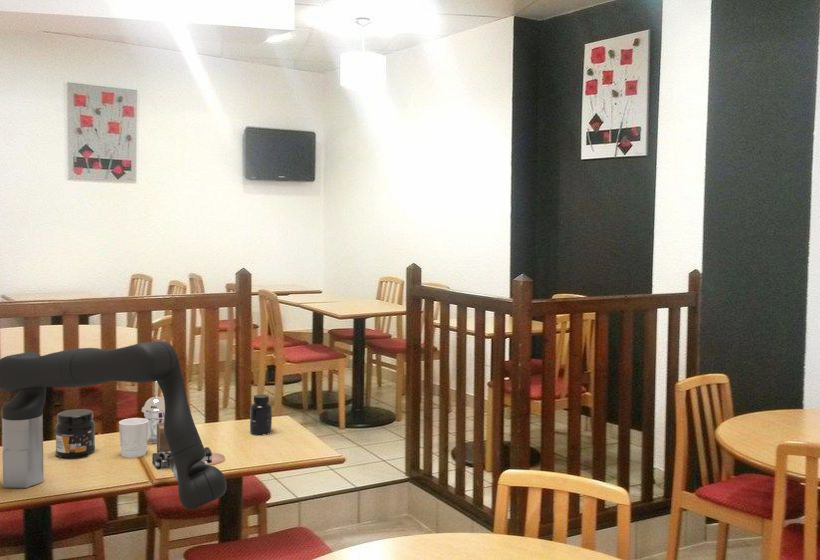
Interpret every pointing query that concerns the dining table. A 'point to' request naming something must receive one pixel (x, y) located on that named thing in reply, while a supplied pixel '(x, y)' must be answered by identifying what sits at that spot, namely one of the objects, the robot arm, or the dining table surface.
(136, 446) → the white cup
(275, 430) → the dining table surface
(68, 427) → the supplement container
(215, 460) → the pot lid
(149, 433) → the cup with straw
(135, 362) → the robot arm
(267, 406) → the supplement bottle
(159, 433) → the tall wooden block
